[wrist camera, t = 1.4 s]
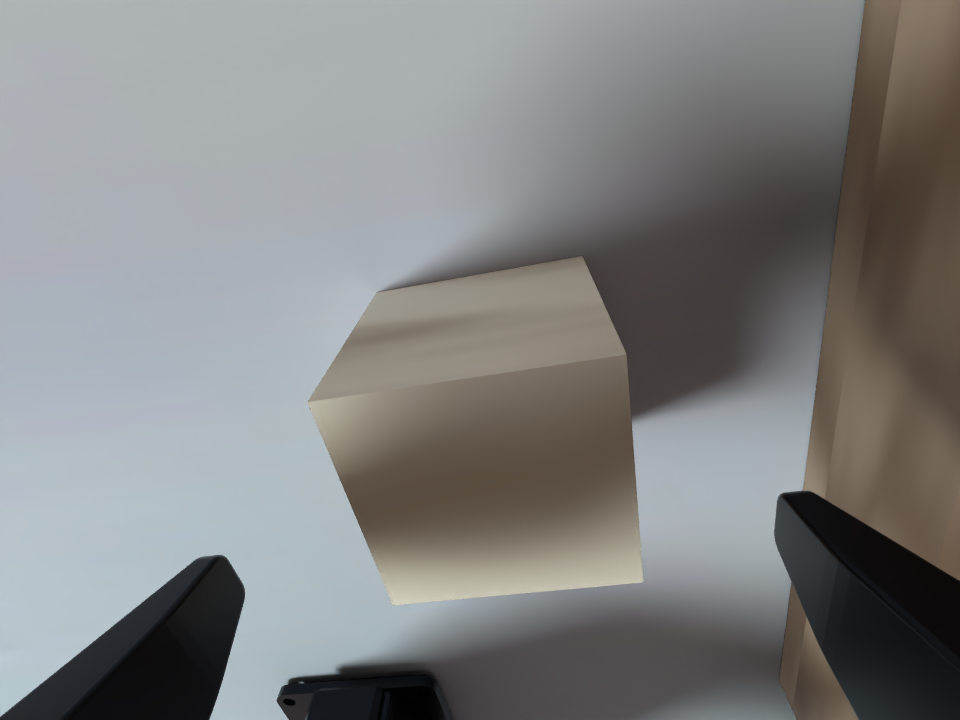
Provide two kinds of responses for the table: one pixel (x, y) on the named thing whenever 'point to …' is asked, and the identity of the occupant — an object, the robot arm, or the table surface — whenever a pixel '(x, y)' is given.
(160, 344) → the table surface
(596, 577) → the birch block
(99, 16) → the table surface
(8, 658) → the table surface
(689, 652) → the table surface
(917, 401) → the dock
